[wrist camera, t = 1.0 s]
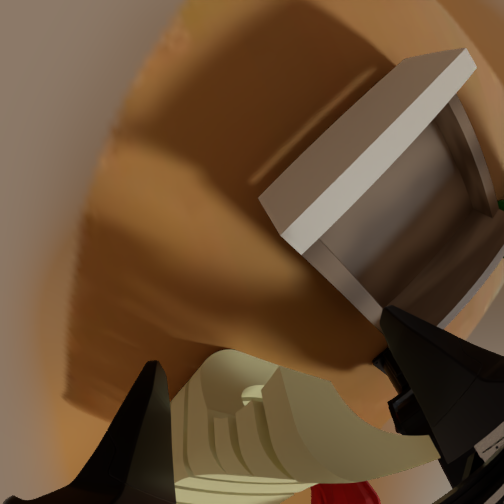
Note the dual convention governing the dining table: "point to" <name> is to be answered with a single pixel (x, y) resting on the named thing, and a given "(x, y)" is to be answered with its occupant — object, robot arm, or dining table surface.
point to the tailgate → (362, 145)
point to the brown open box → (419, 229)
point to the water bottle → (344, 493)
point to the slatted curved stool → (274, 435)
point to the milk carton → (501, 205)
